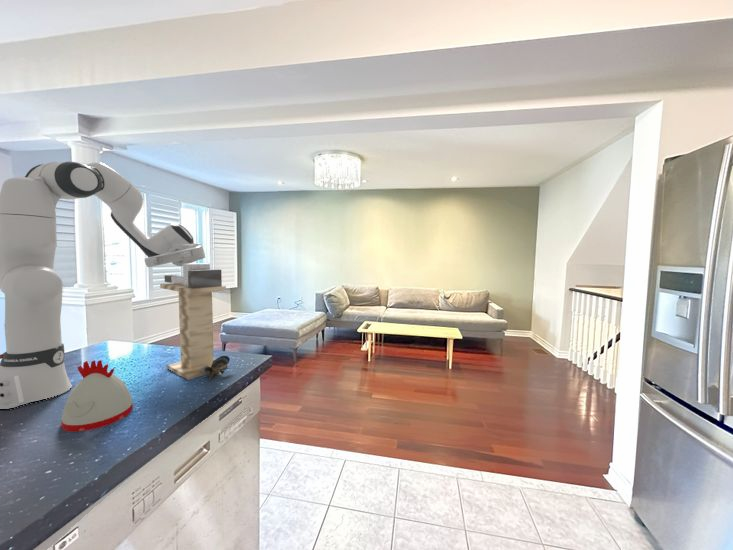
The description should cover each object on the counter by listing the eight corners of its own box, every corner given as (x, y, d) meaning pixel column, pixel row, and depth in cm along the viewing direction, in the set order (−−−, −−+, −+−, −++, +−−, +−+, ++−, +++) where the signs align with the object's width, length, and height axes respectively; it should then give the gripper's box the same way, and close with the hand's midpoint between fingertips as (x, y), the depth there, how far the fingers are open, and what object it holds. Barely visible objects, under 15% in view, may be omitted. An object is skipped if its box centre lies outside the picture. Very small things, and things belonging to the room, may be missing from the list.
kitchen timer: (91, 404, 85) (88, 352, 84) (144, 402, 86) (141, 351, 85) (45, 433, 71) (40, 372, 70) (108, 430, 73) (104, 370, 72)
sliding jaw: (158, 282, 119) (157, 262, 119) (177, 281, 125) (176, 261, 124) (190, 287, 104) (189, 264, 103) (210, 285, 110) (209, 263, 109)
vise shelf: (160, 365, 114) (156, 268, 111) (198, 355, 125) (195, 267, 123) (190, 381, 100) (187, 271, 97) (230, 368, 112) (228, 269, 109)
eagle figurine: (226, 377, 101) (235, 362, 110) (212, 361, 99) (222, 348, 108) (208, 388, 102) (218, 373, 110) (194, 373, 100) (205, 359, 108)
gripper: (151, 253, 121) (134, 256, 108) (204, 242, 125) (195, 244, 112) (156, 268, 122) (140, 273, 109) (209, 256, 126) (200, 260, 113)
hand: (168, 258), depth 110 cm, fingers open, 8 cm apart
